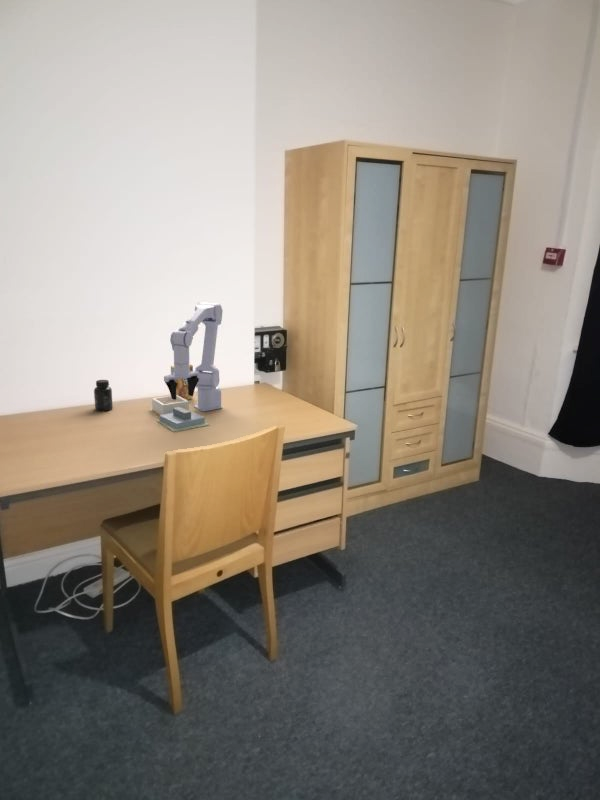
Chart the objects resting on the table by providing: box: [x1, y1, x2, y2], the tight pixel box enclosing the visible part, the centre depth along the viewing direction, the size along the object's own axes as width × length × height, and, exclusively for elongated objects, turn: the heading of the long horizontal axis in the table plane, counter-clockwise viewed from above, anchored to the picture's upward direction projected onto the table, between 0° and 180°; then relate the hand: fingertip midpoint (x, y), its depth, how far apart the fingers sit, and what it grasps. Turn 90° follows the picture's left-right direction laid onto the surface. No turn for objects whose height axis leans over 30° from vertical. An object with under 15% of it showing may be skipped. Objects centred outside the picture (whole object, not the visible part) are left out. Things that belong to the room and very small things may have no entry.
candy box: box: [170, 363, 194, 400], centre depth 250 cm, size 9×4×15 cm, turn 129°
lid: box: [158, 407, 206, 429], centre depth 220 cm, size 12×12×5 cm
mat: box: [156, 418, 210, 433], centre depth 221 cm, size 15×15×1 cm
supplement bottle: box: [93, 379, 114, 412], centre depth 232 cm, size 7×7×12 cm
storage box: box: [151, 395, 190, 415], centre depth 233 cm, size 11×11×5 cm
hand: (182, 397), depth 218 cm, fingers open, 7 cm apart
